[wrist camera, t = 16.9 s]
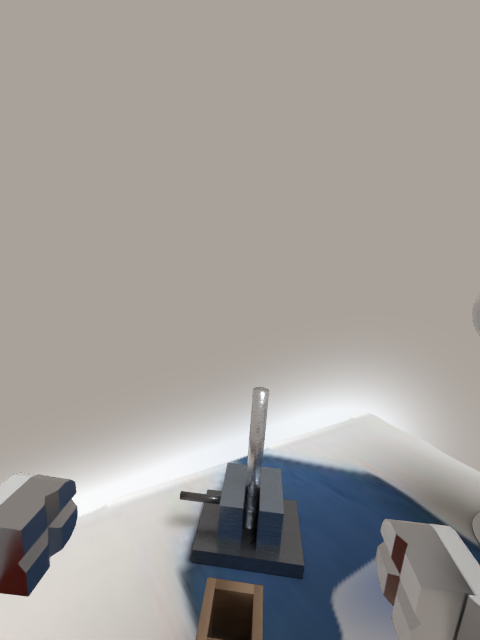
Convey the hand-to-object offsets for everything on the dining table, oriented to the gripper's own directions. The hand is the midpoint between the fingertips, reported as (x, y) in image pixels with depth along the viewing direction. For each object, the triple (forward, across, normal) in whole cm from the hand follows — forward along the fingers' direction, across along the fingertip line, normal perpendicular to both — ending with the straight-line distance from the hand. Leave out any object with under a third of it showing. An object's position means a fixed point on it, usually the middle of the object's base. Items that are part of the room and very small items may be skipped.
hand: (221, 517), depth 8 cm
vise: (+28, +1, +31) cm, 42 cm away
